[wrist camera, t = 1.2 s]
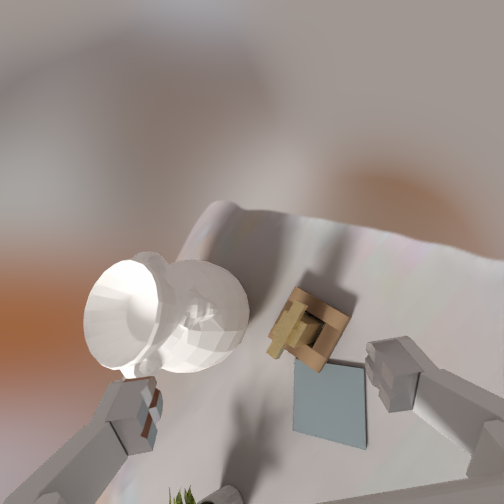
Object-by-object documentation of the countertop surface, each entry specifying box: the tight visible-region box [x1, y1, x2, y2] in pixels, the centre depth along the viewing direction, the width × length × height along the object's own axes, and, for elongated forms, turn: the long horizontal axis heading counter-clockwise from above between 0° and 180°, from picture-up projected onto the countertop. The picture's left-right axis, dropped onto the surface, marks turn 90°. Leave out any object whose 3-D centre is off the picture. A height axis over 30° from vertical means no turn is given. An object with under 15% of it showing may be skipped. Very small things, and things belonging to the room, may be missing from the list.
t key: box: [266, 299, 324, 359], centre depth 40 cm, size 4×8×14 cm, turn 149°
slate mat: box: [293, 359, 366, 450], centre depth 42 cm, size 11×11×1 cm
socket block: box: [268, 286, 351, 373], centre depth 45 cm, size 10×10×3 cm
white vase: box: [83, 251, 250, 379], centre depth 43 cm, size 19×18×25 cm
